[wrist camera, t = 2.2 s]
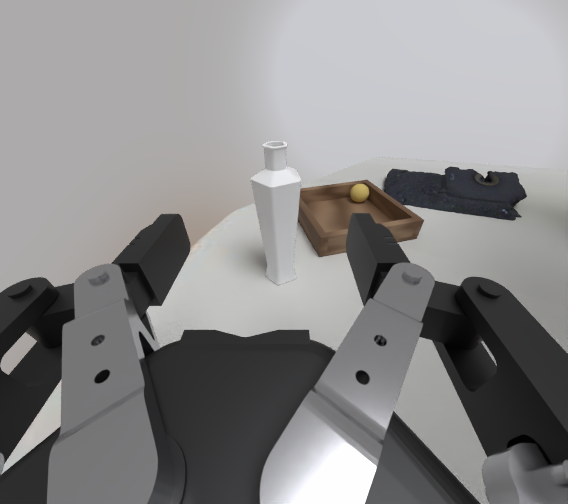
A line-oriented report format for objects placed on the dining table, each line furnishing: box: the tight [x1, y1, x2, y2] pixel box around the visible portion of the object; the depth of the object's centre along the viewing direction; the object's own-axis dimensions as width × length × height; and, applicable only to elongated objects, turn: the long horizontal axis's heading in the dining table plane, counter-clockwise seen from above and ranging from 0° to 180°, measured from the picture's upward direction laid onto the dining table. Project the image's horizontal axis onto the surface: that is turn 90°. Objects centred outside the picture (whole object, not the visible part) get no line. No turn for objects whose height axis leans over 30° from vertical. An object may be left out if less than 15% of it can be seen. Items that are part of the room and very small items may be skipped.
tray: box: [298, 180, 424, 257], centre depth 37 cm, size 15×15×3 cm
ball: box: [350, 184, 369, 202], centre depth 41 cm, size 3×3×3 cm
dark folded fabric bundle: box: [385, 167, 527, 221], centre depth 43 cm, size 15×22×5 cm
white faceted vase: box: [251, 141, 301, 285], centre depth 24 cm, size 5×4×15 cm
